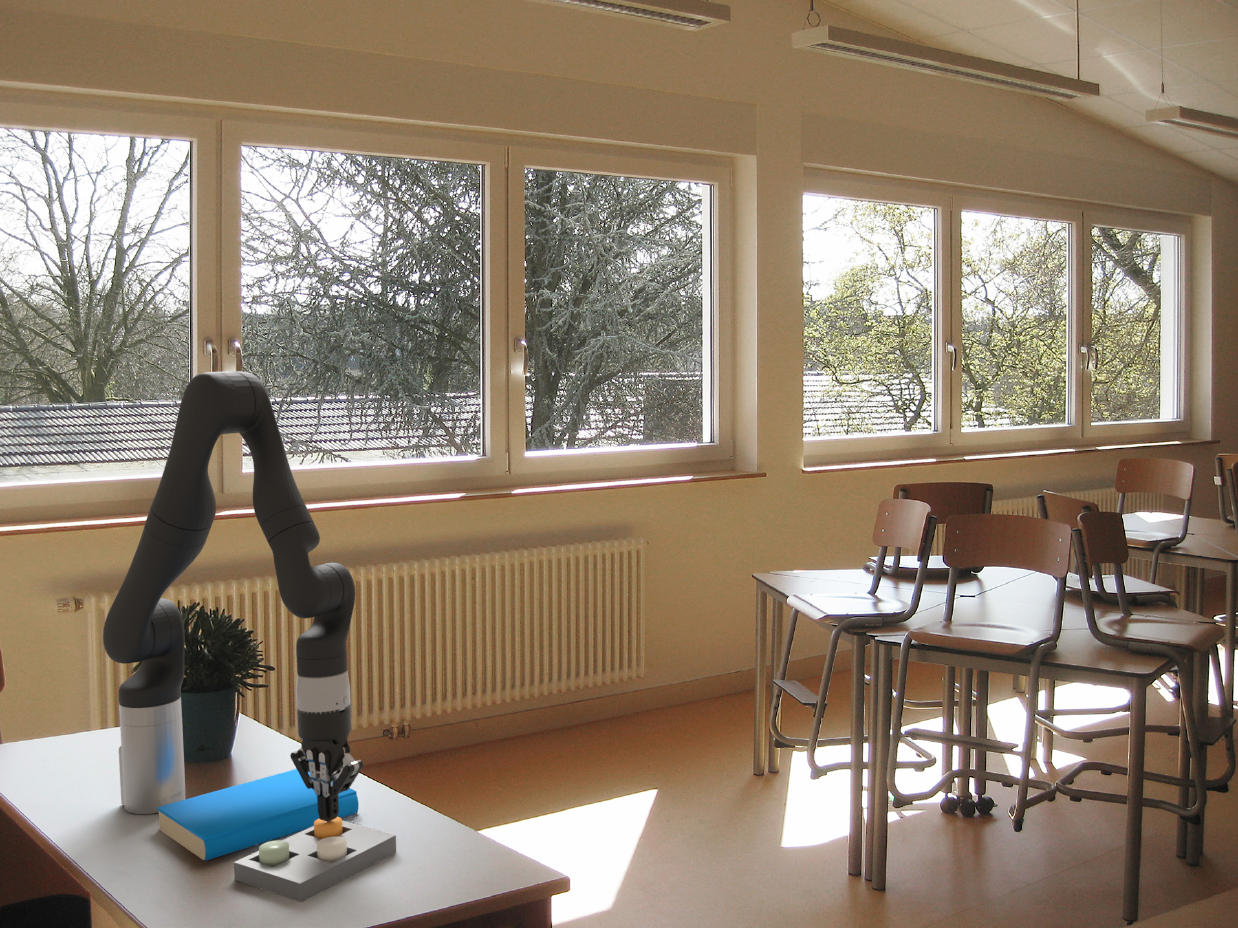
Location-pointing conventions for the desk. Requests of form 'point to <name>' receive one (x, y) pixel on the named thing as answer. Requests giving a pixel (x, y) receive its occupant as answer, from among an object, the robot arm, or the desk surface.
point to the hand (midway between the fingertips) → (328, 819)
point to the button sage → (274, 853)
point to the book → (246, 814)
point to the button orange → (328, 828)
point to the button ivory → (331, 849)
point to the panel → (315, 862)
